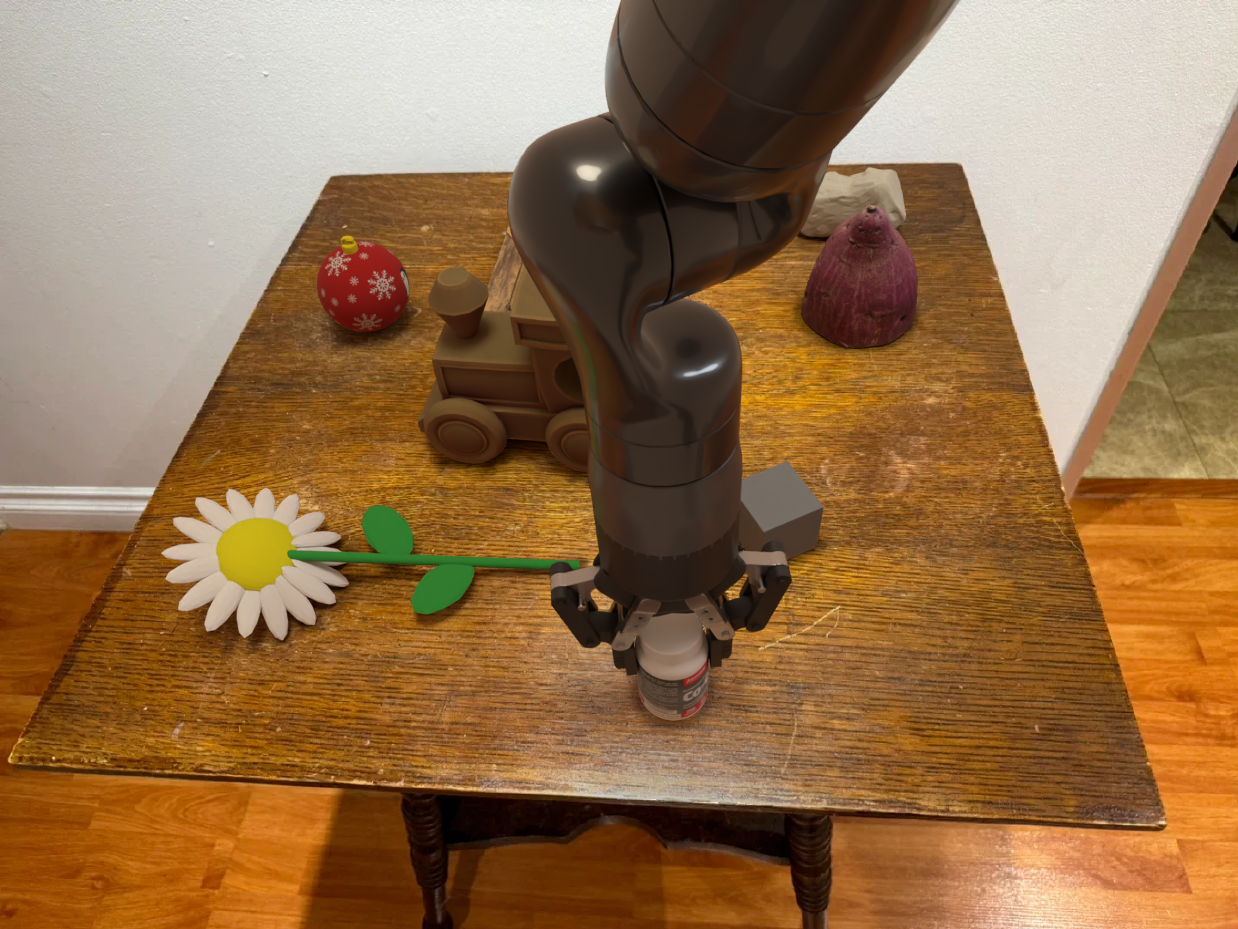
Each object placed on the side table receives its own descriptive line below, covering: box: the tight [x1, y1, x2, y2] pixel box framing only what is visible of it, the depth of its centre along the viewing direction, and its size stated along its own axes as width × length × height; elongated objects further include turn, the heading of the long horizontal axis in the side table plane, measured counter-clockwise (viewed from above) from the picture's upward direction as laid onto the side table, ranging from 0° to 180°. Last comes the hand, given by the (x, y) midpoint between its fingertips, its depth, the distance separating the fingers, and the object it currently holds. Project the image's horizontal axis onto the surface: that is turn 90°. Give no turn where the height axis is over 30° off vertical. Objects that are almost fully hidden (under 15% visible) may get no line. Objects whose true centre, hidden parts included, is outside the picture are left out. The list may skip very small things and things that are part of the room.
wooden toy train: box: [417, 266, 589, 474], centre depth 71 cm, size 20×11×17 cm, turn 81°
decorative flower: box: [160, 487, 580, 641], centre depth 67 cm, size 13×5×30 cm
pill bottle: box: [634, 613, 710, 721], centre depth 57 cm, size 5×5×8 cm
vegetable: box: [800, 205, 919, 349], centre depth 80 cm, size 10×10×15 cm
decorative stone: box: [800, 166, 907, 238], centre depth 92 cm, size 11×9×10 cm
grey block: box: [738, 460, 825, 561], centre depth 67 cm, size 5×5×5 cm
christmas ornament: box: [316, 235, 410, 333], centre depth 85 cm, size 9×9×10 cm
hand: (672, 658), depth 57 cm, fingers closed on pill bottle, 4 cm apart
